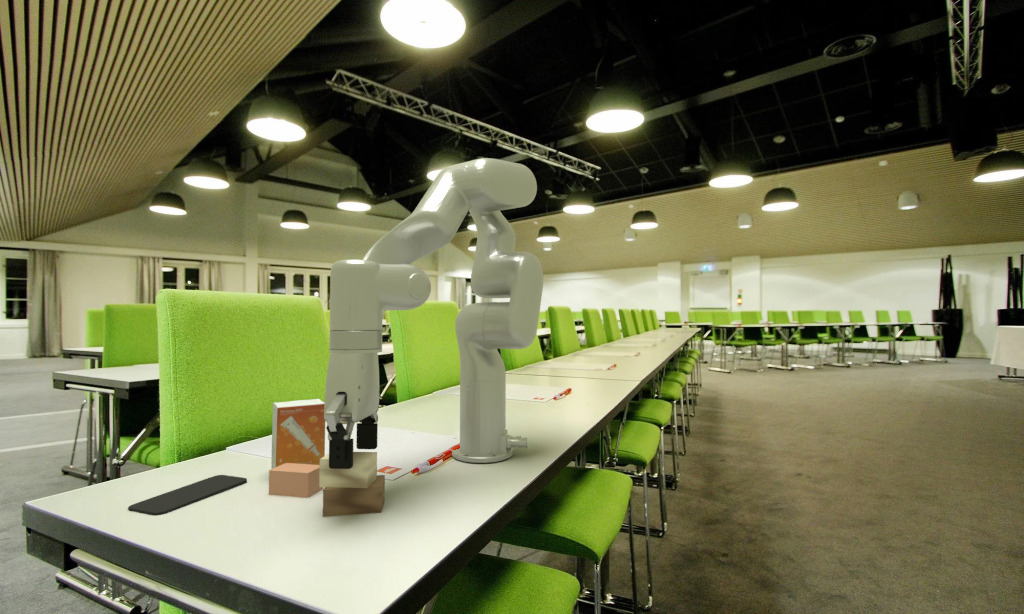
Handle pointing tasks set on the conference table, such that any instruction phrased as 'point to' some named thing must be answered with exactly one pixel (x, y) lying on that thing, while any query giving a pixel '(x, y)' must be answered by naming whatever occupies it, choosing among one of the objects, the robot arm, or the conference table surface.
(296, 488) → the terracotta brick
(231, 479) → the phone
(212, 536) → the conference table surface
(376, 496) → the walnut brick
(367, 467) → the ash brick
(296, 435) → the small box
